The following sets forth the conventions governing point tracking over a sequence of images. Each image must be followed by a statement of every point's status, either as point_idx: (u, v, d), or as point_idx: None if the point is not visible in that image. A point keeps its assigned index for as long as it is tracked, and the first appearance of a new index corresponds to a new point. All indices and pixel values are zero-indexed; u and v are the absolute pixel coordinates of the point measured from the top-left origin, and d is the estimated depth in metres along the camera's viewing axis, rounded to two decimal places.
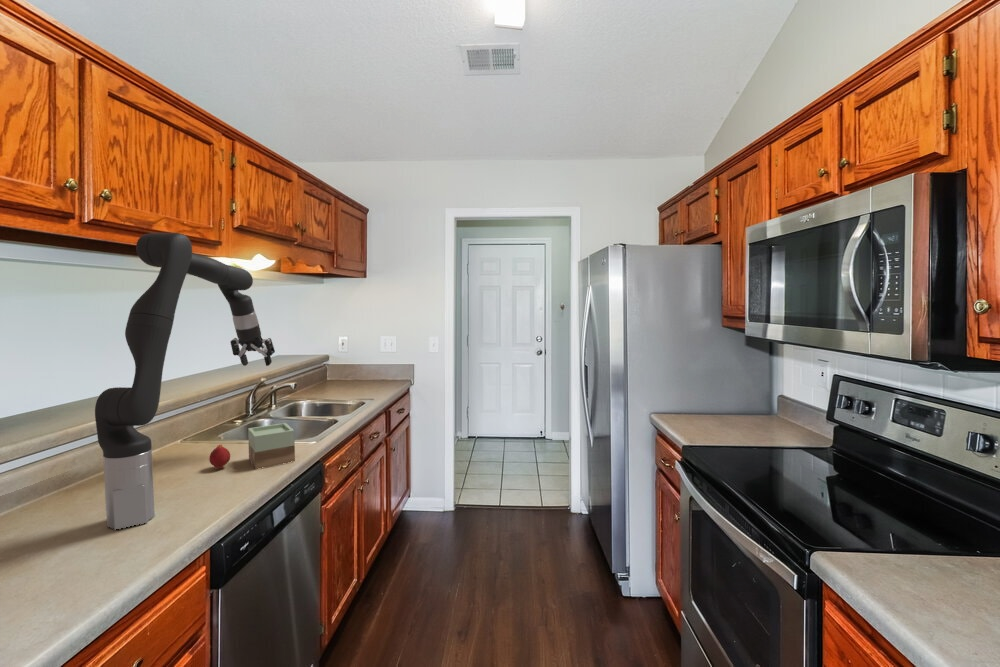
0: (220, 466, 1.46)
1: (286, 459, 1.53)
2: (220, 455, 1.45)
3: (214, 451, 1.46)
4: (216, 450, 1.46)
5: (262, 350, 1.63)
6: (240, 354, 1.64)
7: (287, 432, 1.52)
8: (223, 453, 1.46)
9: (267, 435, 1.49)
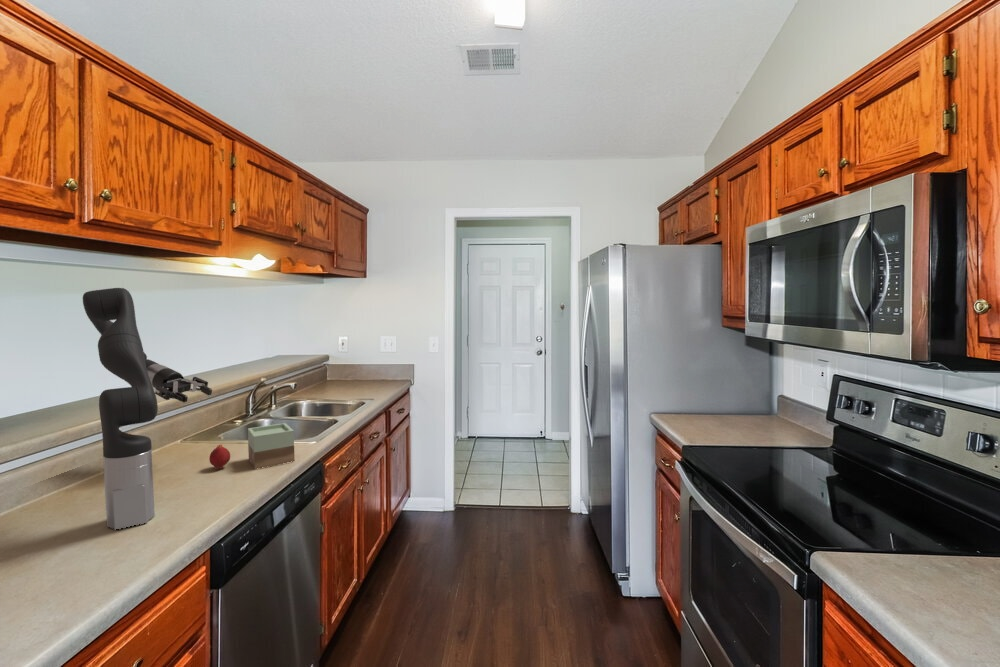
0: (220, 466, 1.46)
1: (286, 459, 1.53)
2: (220, 455, 1.45)
3: (214, 451, 1.46)
4: (216, 450, 1.46)
5: None
6: (175, 390, 1.44)
7: (286, 432, 1.52)
8: (223, 453, 1.46)
9: (266, 435, 1.48)
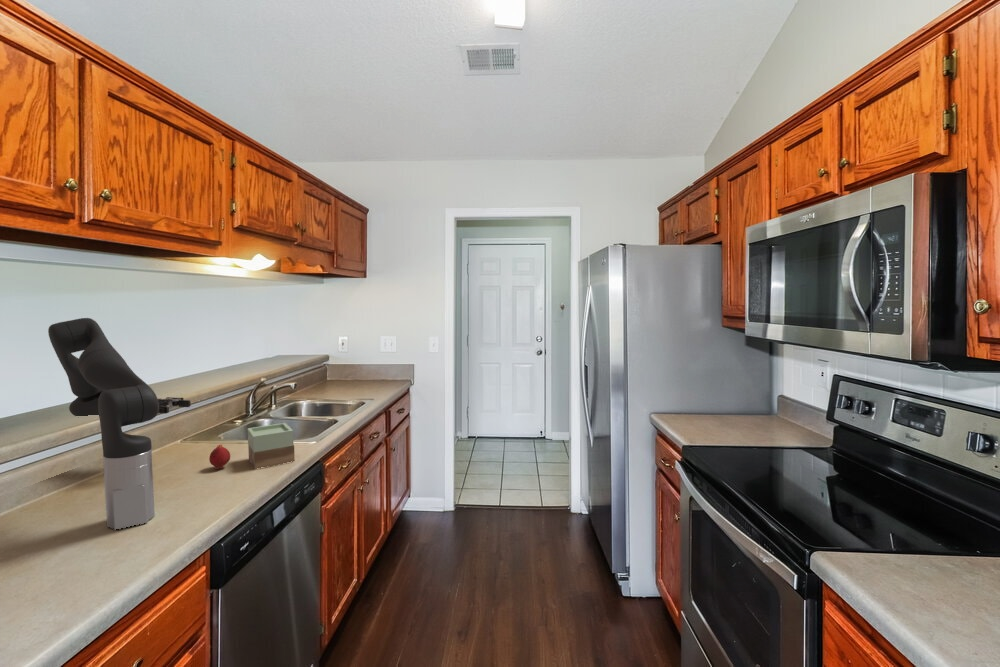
0: (220, 466, 1.46)
1: (286, 459, 1.53)
2: (220, 455, 1.45)
3: (214, 451, 1.46)
4: (216, 450, 1.46)
5: None
6: None
7: (286, 432, 1.52)
8: (223, 453, 1.46)
9: (266, 435, 1.48)
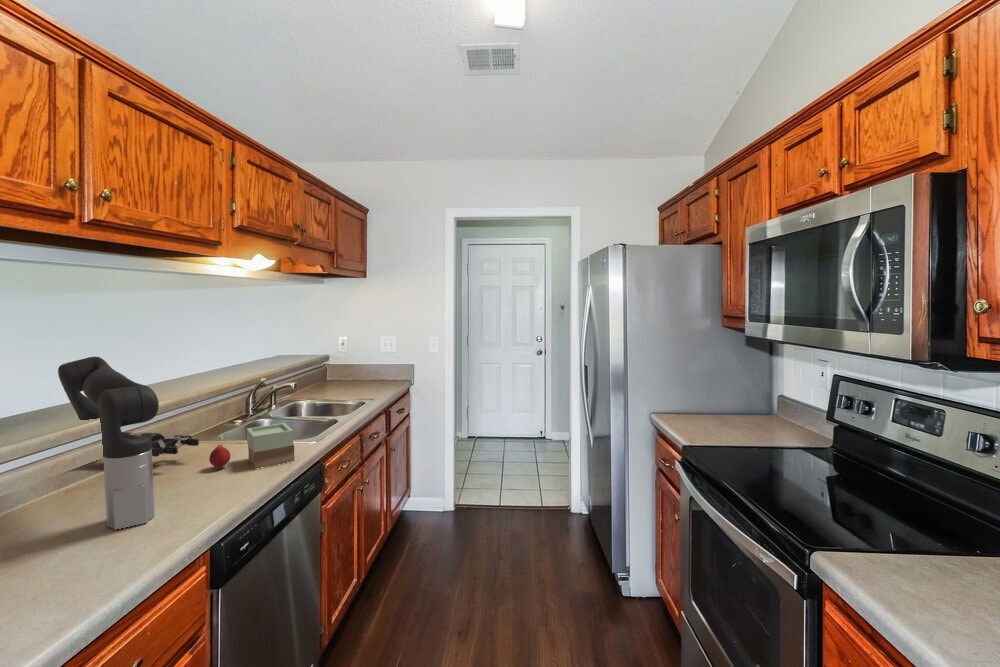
0: (220, 466, 1.46)
1: (286, 459, 1.53)
2: (220, 455, 1.45)
3: (214, 451, 1.46)
4: (216, 450, 1.46)
5: None
6: (162, 446, 1.45)
7: (286, 432, 1.52)
8: (223, 453, 1.46)
9: (266, 435, 1.49)
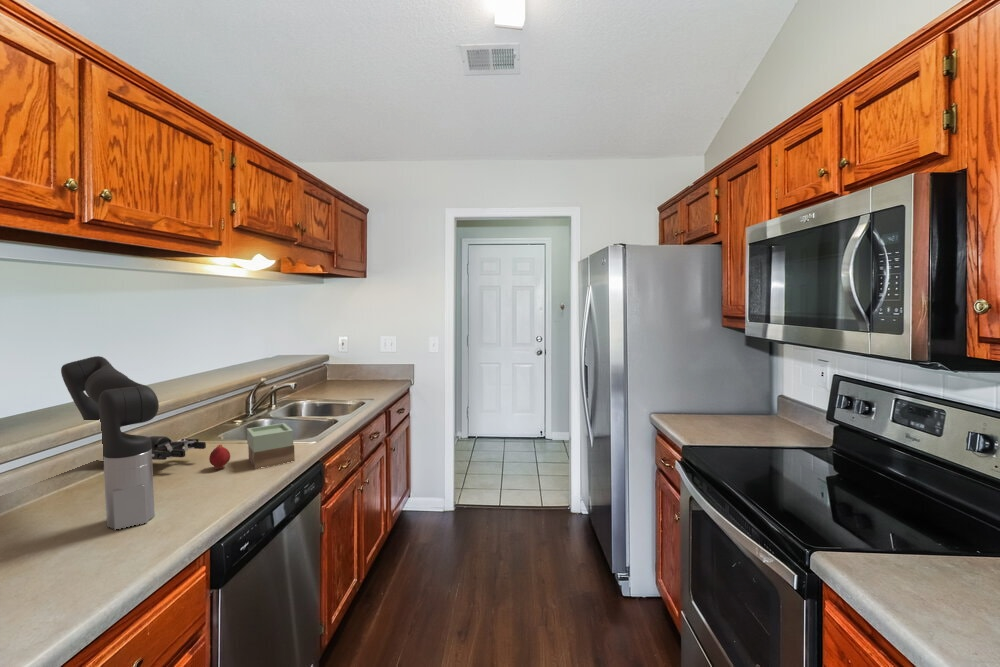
0: (220, 466, 1.46)
1: (286, 459, 1.53)
2: (220, 455, 1.45)
3: (214, 451, 1.46)
4: (216, 450, 1.46)
5: None
6: (170, 449, 1.44)
7: (286, 432, 1.52)
8: (223, 453, 1.46)
9: (266, 435, 1.48)
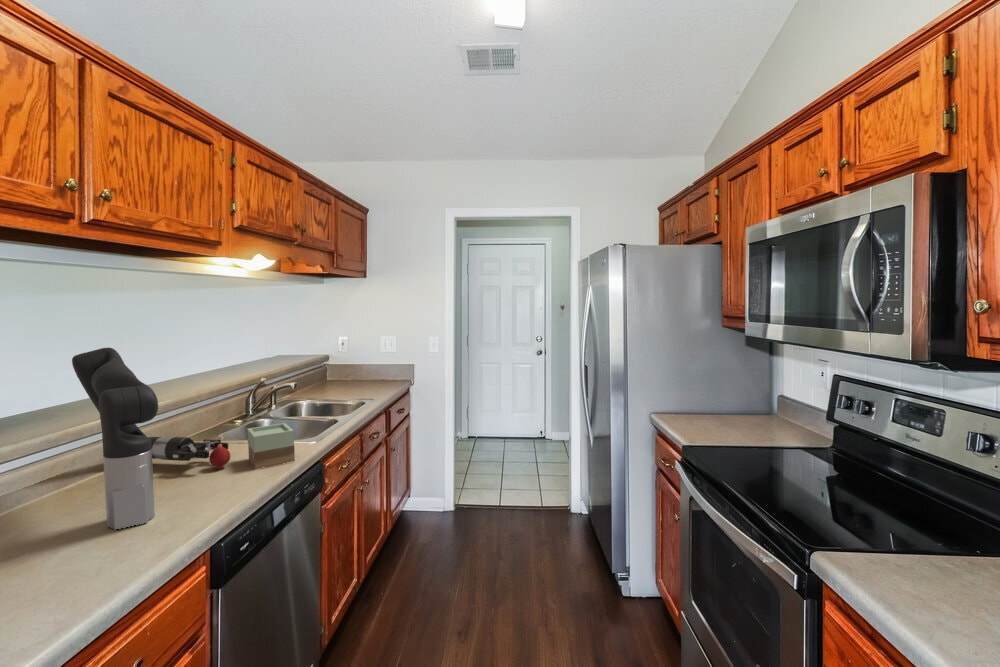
0: (220, 466, 1.46)
1: (286, 459, 1.53)
2: (220, 455, 1.45)
3: (214, 451, 1.46)
4: (216, 450, 1.46)
5: None
6: (193, 450, 1.43)
7: (286, 432, 1.52)
8: (223, 453, 1.46)
9: (266, 435, 1.48)
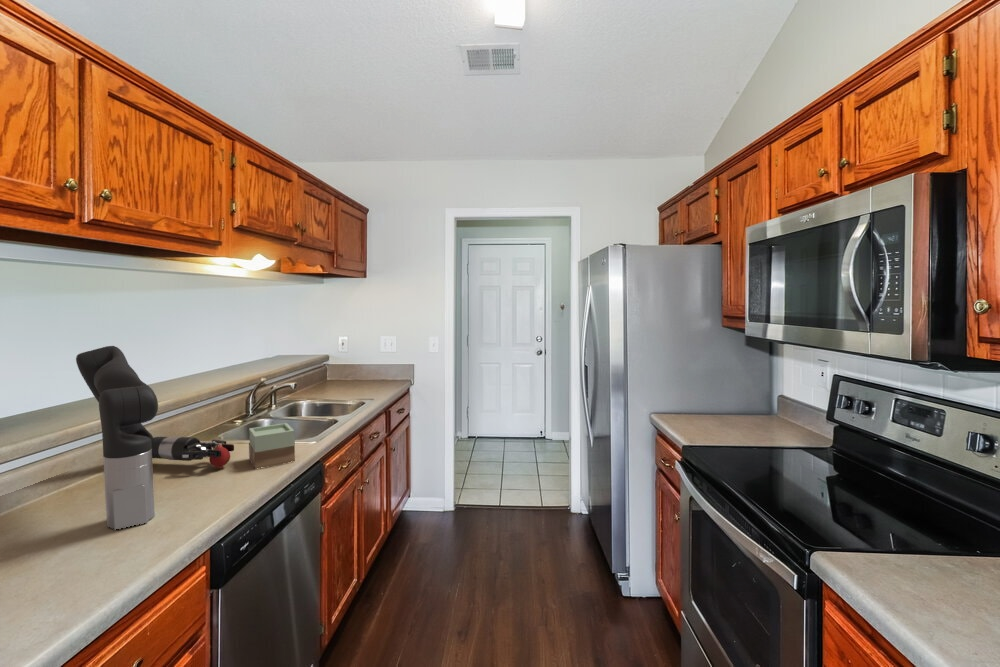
0: (220, 466, 1.46)
1: (286, 459, 1.53)
2: None
3: None
4: None
5: None
6: (206, 449, 1.44)
7: (287, 432, 1.52)
8: (223, 453, 1.46)
9: (267, 435, 1.48)
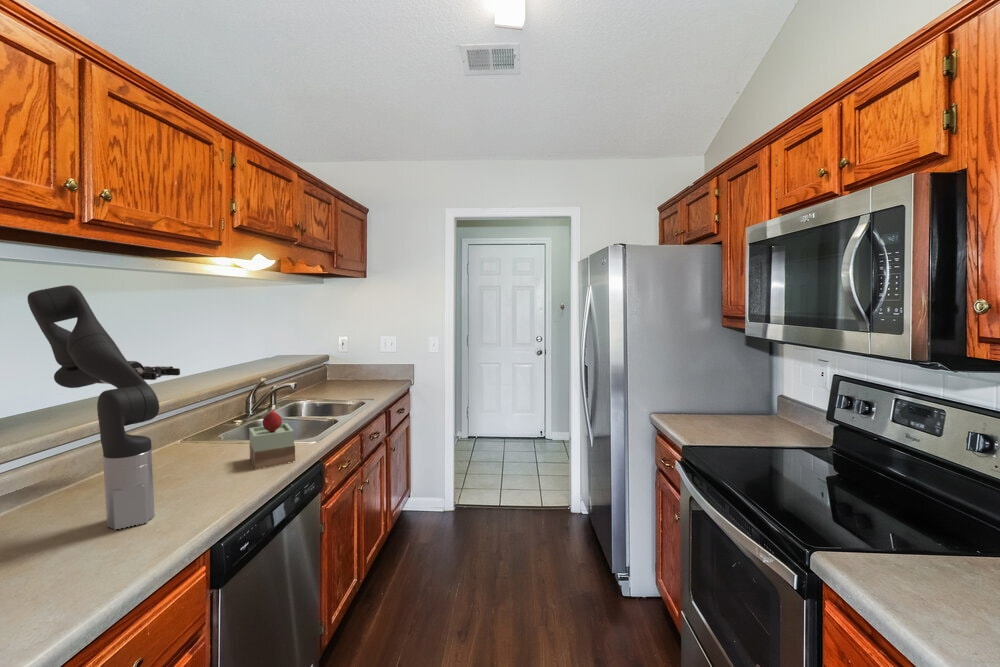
0: (273, 430, 1.54)
1: (286, 459, 1.52)
2: (273, 420, 1.52)
3: (268, 416, 1.53)
4: (270, 415, 1.53)
5: None
6: (140, 371, 1.36)
7: (287, 432, 1.52)
8: (277, 418, 1.53)
9: (266, 435, 1.48)
